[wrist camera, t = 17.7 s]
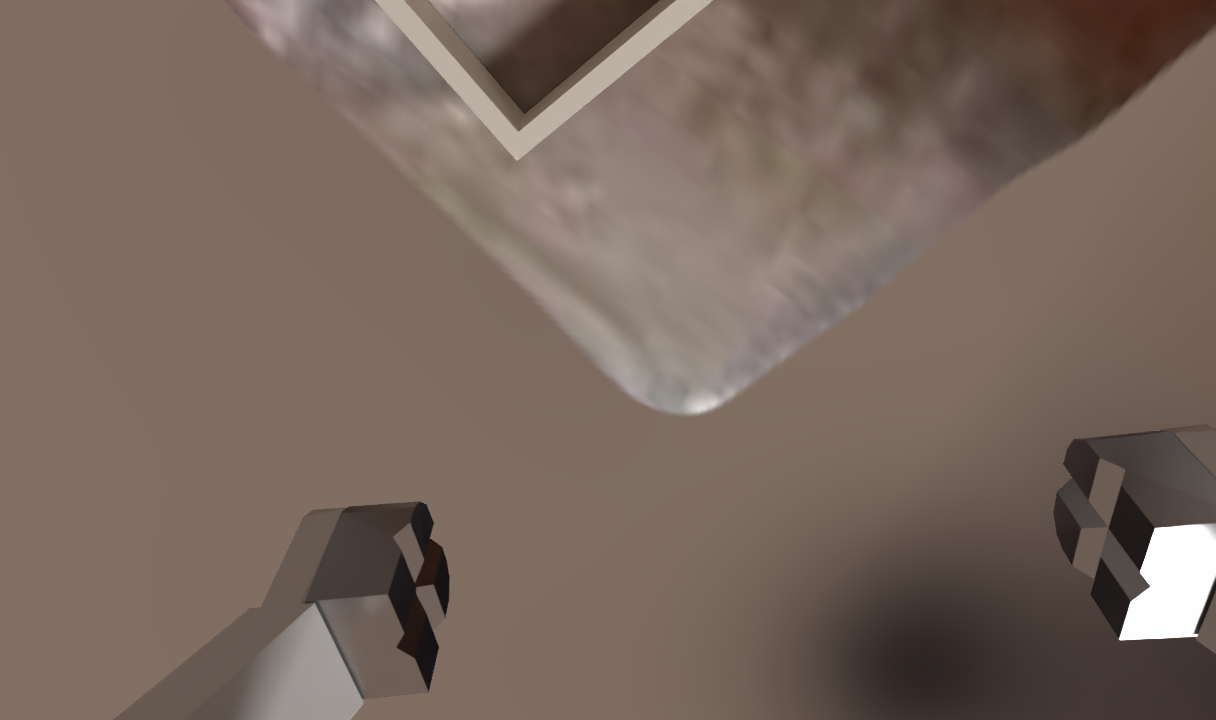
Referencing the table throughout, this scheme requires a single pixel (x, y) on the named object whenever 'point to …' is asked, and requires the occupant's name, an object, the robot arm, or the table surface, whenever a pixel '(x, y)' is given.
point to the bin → (526, 130)
